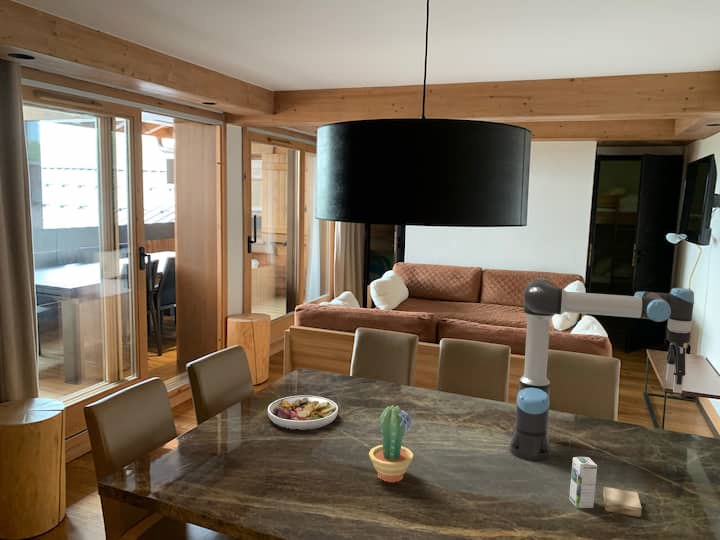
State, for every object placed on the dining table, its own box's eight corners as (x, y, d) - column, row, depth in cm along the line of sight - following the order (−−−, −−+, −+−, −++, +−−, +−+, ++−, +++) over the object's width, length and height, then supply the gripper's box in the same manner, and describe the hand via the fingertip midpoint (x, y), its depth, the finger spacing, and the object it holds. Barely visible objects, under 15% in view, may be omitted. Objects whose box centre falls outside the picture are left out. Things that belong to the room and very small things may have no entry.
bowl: (300, 401, 269) (300, 384, 268) (351, 416, 251) (352, 399, 250) (253, 420, 245) (253, 403, 244) (306, 439, 227) (306, 420, 226)
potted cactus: (384, 491, 188) (386, 418, 185) (359, 471, 201) (361, 403, 198) (421, 479, 196) (424, 409, 193) (395, 461, 209) (397, 395, 206)
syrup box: (568, 499, 186) (571, 456, 184) (586, 498, 186) (589, 456, 185) (576, 508, 180) (579, 465, 178) (594, 508, 181) (598, 464, 179)
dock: (605, 511, 179) (606, 502, 179) (602, 495, 189) (603, 486, 188) (640, 517, 176) (641, 508, 176) (636, 501, 186) (637, 492, 185)
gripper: (698, 339, 198) (692, 399, 200) (683, 324, 221) (677, 377, 224) (674, 337, 200) (668, 396, 203) (661, 322, 223) (656, 375, 226)
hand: (673, 386), depth 213 cm, fingers open, 13 cm apart
